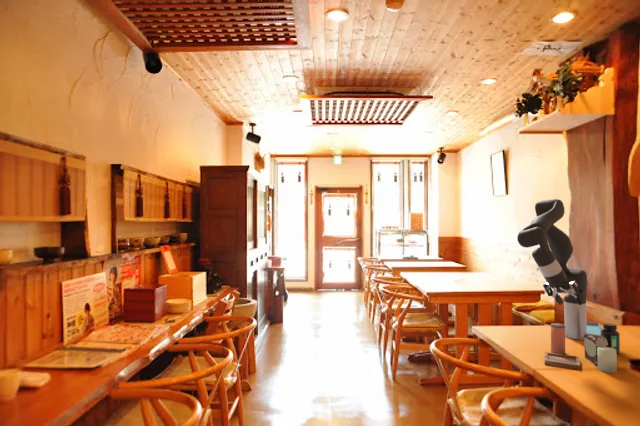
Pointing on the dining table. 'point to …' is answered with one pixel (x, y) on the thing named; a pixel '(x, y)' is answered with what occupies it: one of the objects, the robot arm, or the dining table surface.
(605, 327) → the supplement bottle
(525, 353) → the dining table surface
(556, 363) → the tray
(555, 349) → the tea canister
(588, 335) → the food container
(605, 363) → the sage tin
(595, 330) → the shallow long dish
